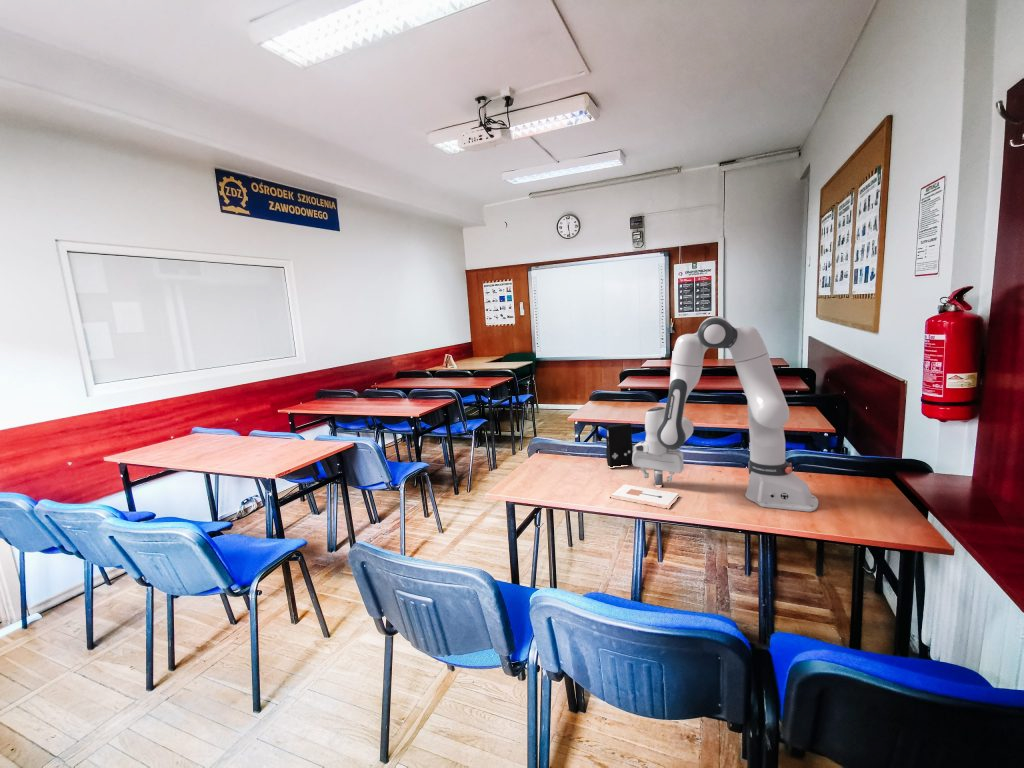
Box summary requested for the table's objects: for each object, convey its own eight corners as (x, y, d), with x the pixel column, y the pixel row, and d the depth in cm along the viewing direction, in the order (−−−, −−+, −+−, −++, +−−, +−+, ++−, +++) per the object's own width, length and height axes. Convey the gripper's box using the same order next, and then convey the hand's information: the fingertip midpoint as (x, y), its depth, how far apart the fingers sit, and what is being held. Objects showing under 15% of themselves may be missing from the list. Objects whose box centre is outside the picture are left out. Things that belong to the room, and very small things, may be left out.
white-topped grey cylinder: (664, 485, 181) (663, 469, 180) (661, 488, 179) (660, 471, 178) (656, 484, 183) (655, 468, 182) (653, 487, 181) (652, 470, 180)
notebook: (680, 496, 169) (680, 493, 169) (668, 509, 159) (668, 506, 159) (623, 486, 183) (623, 483, 183) (609, 498, 173) (609, 494, 173)
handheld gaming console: (610, 469, 204) (608, 427, 201) (606, 466, 209) (603, 425, 206) (634, 465, 207) (632, 424, 204) (628, 462, 212) (627, 422, 209)
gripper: (685, 447, 175) (686, 481, 177) (635, 441, 187) (636, 473, 189) (680, 452, 170) (681, 486, 172) (629, 446, 182) (631, 478, 184)
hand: (657, 479), depth 180 cm, fingers open, 8 cm apart
